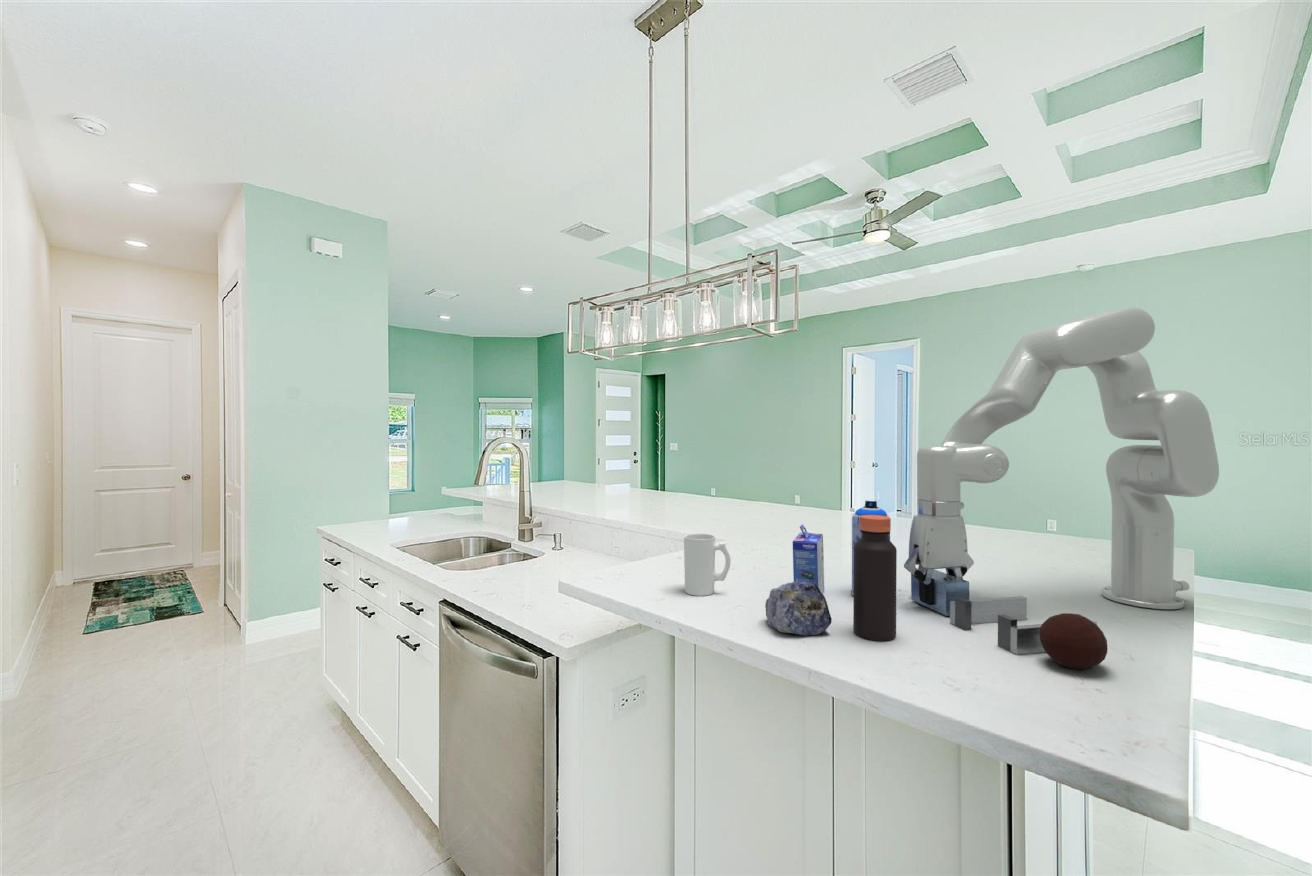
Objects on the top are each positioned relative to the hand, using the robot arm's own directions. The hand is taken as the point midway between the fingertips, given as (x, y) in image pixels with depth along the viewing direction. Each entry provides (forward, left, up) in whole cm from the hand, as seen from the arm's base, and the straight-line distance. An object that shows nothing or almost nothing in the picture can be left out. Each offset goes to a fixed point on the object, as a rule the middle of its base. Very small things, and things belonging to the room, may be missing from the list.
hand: (939, 601), depth 108 cm
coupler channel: (-4, +15, -1) cm, 15 cm away
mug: (+41, -19, -2) cm, 46 cm away
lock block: (0, 0, -1) cm, 1 cm away
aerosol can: (+8, -10, -2) cm, 13 cm away
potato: (-1, +27, -2) cm, 27 cm away
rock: (+32, +4, -2) cm, 33 cm away
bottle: (+20, +10, -2) cm, 23 cm away
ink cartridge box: (+20, -14, -2) cm, 25 cm away
